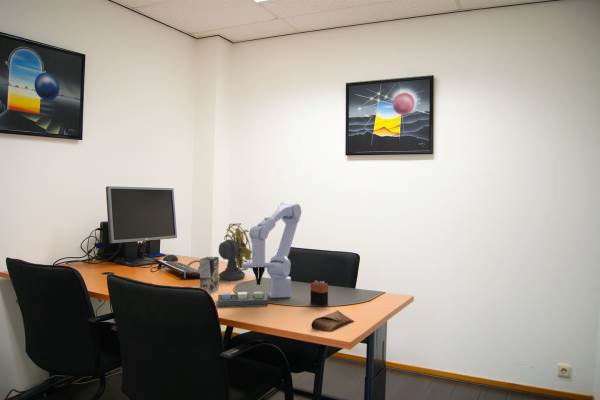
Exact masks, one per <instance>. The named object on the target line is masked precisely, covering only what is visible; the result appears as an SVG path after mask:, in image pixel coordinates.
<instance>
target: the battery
mask: <svg viewBox="0 0 600 400" xmlns="http://www.w3.org/2000/svg"><path fill="white" fill-rule="evenodd" d="M310 304H312V305H314V306H315V305H316V306H321V307H323V306H326V305H329V284H328V283H326V282H325V281H324V280H323V281H318V280H314V282H310Z"/></svg>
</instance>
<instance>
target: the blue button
mask: <svg viewBox="0 0 600 400" xmlns="http://www.w3.org/2000/svg"><path fill="white" fill-rule="evenodd" d="M231 294H232V292H221V295H222V299H231Z"/></svg>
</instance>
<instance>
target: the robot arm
mask: <svg viewBox="0 0 600 400" xmlns="http://www.w3.org/2000/svg"><path fill="white" fill-rule="evenodd" d="M302 212H303V211H302V207H301V205H300V204H299V203H288V202H287V203H284V202H281V203H279V205H277V209H276V210H275V211H274V212H273V214H272V215H271V216H265V217H264V218H263V220H261V222H259V223H258V224H257V225H254V226H252V227H251V228H250V230H249V232H248V235H249V238H250V242H251V251H252V252H251V258H252V259H251V262H250V263H249V262H247V263H246V262H243V264H242V268H241V269H245V268H246V269H247V268H248V269H252V271H253V274H254V277H255V281H256V285H257V286H260V285H261V282H262V278H263V276H264V274H265V271H266V272H267V274H268V275H269V277H270V292H269V293H268V294H269V297H270V299H272V298H273V299H275V298H277V299H278V298H292V278H291V276H289V274H290V273H291V265H292V263H291V260H290V259H289V258H288V257H289V254H290V251H291V248H292V244H293V242H294V237H295V235H296V230H297V227H298V223H299V222H300V218H301V215H302ZM280 220H282V222H283V223H284V224H285V226H284V229H283V232H282V234H281V235H282V236H281V239H280V243H279V245H278V249H277V251H276V255H273V256H272V257H271V258H270V261H269V262H266V240H267V238H268V236H269V233H270V232H271V231H272V230H273V229H274V228H275V227H276V225H277V224H276V223H277V222H279V221H280Z"/></svg>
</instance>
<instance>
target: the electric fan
mask: <svg viewBox="0 0 600 400" xmlns="http://www.w3.org/2000/svg"><path fill="white" fill-rule="evenodd" d="M241 225H242V223H240V222H239V223H237V222H236V223H230V224H229V225H228V227H227V228H226V231H227V232H226V234H225V235H224V237H223V240H224V241H223V242H221V243H219V245H218V254H219V256H220V257H221V258H222V259H223V260H227V265H226V268H224V269H225V270H223V271H221V272H219V279H220V280H222V281H229V282H230V281H233V282H234V281H239V280H244V279H245V277H246V273H245V272H244V271H248V269H249V268H244V269H242V264H244V263H251V261H252V247H251V244H250V241H249V237H248V236H247V233H250V230H248V229H244V228H243V227H241ZM235 226H237V228H234V227H235ZM231 229H232V230H231ZM234 231H235V233H234ZM228 233H231V234H232V235H230V234H228ZM244 236H245V238H244ZM228 238H230V239H228ZM244 240H245V241H244ZM247 245H248V247H247ZM194 263H199V264H200V259H199V260H198V259H195V260H192V261H190V262H189V263H188V264H187V265H186V267H185V269H184V271H183V277H184V278H186V272H187V270H188V268H189V267H190V266H191V265H193V264H194ZM198 272H199V273H200V265H199V266H198V268H197V273H198Z"/></svg>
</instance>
